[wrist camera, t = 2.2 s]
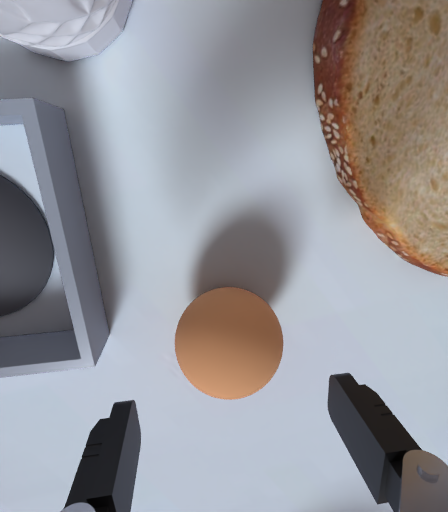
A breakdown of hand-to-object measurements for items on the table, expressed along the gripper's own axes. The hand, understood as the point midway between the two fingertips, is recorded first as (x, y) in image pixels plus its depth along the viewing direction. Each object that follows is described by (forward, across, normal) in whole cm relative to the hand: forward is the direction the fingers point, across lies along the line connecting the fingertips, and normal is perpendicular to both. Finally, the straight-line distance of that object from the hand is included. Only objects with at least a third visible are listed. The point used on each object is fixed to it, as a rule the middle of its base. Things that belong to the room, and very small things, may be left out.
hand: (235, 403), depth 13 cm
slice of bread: (+8, -14, -11) cm, 19 cm away
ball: (+5, 0, 0) cm, 5 cm away
